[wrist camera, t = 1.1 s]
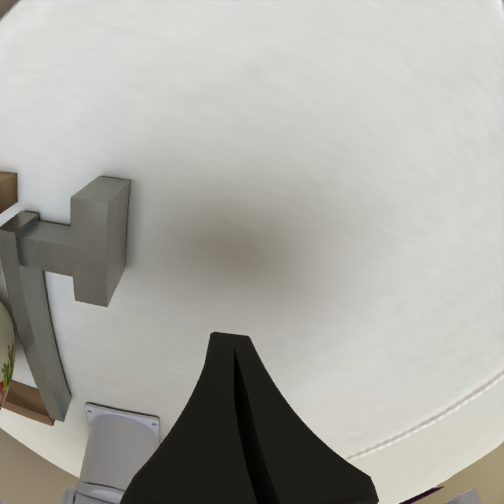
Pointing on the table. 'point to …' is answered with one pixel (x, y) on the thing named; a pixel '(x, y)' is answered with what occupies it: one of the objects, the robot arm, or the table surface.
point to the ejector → (63, 273)
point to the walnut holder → (19, 395)
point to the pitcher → (6, 352)
